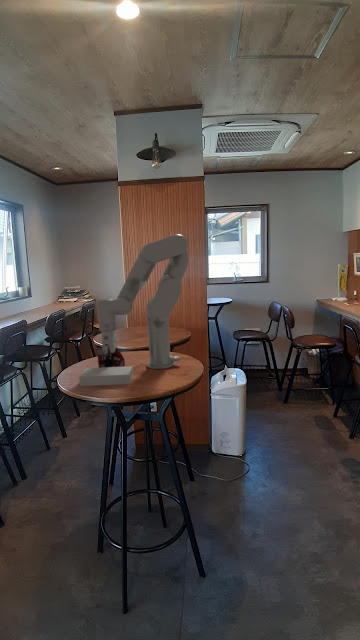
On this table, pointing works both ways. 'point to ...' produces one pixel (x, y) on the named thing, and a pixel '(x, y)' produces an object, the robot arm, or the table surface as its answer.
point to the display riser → (106, 376)
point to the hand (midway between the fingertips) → (110, 364)
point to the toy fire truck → (117, 358)
